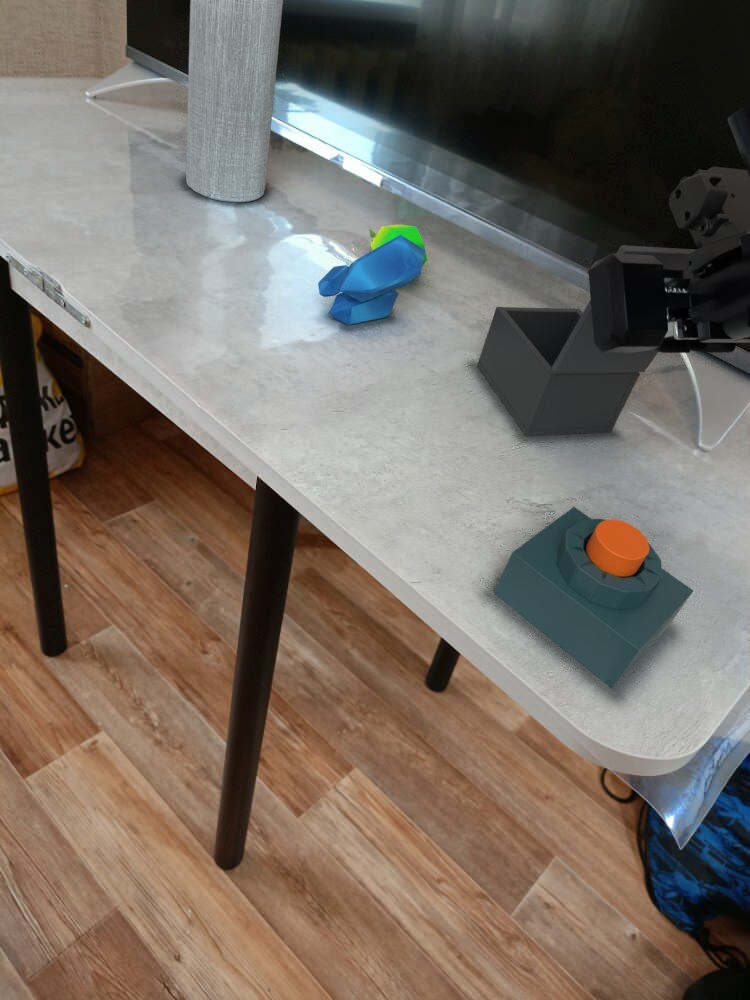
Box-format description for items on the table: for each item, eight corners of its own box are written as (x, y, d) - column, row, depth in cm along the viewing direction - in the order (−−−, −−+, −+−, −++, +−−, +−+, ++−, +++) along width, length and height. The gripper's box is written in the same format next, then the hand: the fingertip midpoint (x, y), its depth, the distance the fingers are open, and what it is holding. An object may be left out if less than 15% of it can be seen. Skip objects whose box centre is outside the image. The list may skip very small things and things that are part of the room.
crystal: (301, 247, 73) (396, 206, 78) (307, 321, 79) (393, 279, 84) (349, 283, 69) (445, 238, 74) (351, 357, 76) (438, 311, 81)
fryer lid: (621, 244, 55) (625, 250, 54) (721, 250, 58) (726, 256, 58) (550, 368, 64) (554, 373, 64) (640, 367, 67) (644, 372, 67)
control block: (666, 628, 54) (706, 572, 50) (611, 688, 49) (651, 631, 45) (554, 545, 58) (583, 488, 54) (493, 593, 53) (520, 533, 49)
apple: (429, 226, 81) (377, 191, 86) (387, 268, 81) (338, 231, 86) (446, 266, 87) (398, 232, 92) (408, 305, 88) (361, 269, 92)
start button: (647, 561, 50) (659, 543, 49) (622, 585, 48) (633, 567, 47) (603, 529, 52) (613, 511, 51) (575, 552, 50) (585, 533, 48)
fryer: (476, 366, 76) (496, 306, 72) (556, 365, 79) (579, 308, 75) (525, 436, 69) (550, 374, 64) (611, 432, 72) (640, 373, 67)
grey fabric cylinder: (279, 192, 100) (306, -56, 82) (232, 210, 93) (250, -58, 75) (219, 166, 102) (232, -80, 84) (169, 182, 95) (171, -83, 77)
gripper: (893, 157, 50) (712, 240, 64) (668, 128, 43) (523, 228, 58) (907, 325, 50) (722, 370, 64) (684, 322, 43) (535, 373, 58)
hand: (631, 334), depth 61 cm, fingers closed
